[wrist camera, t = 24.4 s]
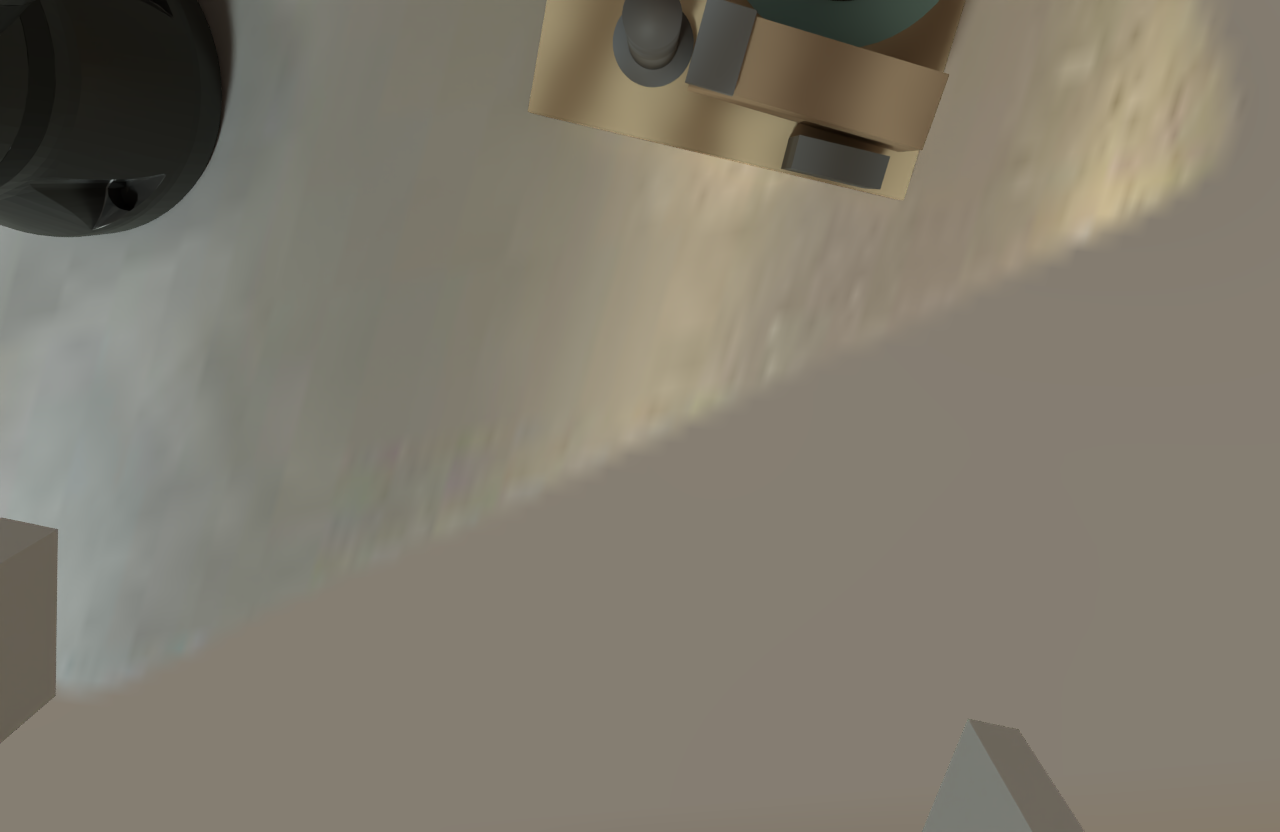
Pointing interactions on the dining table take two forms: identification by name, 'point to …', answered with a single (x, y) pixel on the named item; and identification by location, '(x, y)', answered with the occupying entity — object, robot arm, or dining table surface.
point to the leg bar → (813, 79)
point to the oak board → (671, 115)
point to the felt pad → (846, 17)
